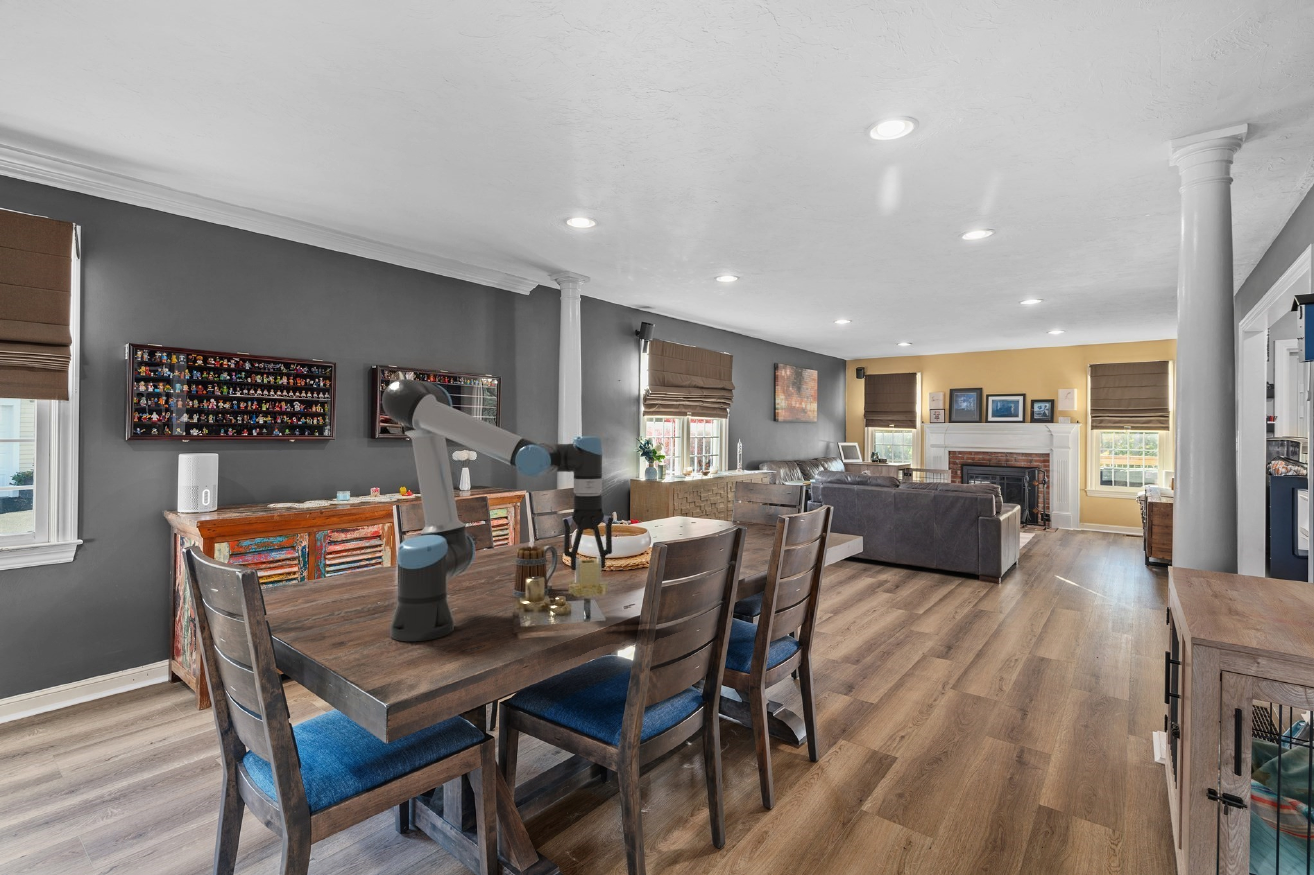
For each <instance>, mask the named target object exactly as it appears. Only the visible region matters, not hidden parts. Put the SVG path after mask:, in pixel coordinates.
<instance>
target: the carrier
mask: <svg viewBox="0 0 1314 875" xmlns="http://www.w3.org/2000/svg"><path fill="white" fill-rule="evenodd" d="M591 598H592V597H585V598H583V600H582V599H581V600H570V601H569V600H568V601H567V600H566V599H567V598H566V596H563V595H558V596H555V599H554V597H551V598H550V596H549V595H548V594H547V595H545V596H544V577H539V576H534V577H528V578H526V597H520V598H519V599H518V600H515V609H518V615H519V616H518V617H519V624H520V627H531V626H532V627H534V626H545V625H546V626H547V625H560V624H561V625H562V624H574V623H588V622H602V621H603V622H605V621H607V620H606V619H607V618H605V615H604V613H603V612H602V610H601V609H600V606H599V605H598V603H597V602H596V600H595V599H591Z"/></svg>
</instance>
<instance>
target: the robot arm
mask: <svg viewBox="0 0 1314 875" xmlns="http://www.w3.org/2000/svg"><path fill="white" fill-rule="evenodd" d="M381 400H382V402H381V403H382V404H381V405H382V408H383V411H384V412H385V414H386V416H388V417H389V418H390V419H391V420H392V421H394V422H396V423H398V424H402V425H403V430H404V434H405V435H406V436H407V437H409V438H410V439H411V443H412V449H413V455H414V462H415V467H416V473H417V474H416V475H417V480H418V486H419V493H420V498H421V505H422V511H423V518H424V523H425V524H424V527H423V528H422V530H421V531H420V535H418V536H415V537H414V536H413V537H410V538H407V539H405V540H403V541H402V542H401V543H400V544H399V546H398V549H397V555H396V562H397V564H396V565H397V604H396V606H395V607H396V608H395V610H394V613H393V617H392V618H391V623H390V626H389V636H390V638H392V639H394V640H396V641H401V642H423V641H424V642H425V641H431V640H436V639H439V638H443V637H444V636H447V635H449V634H451V633H452V632H453V631H454V630H455V619H454V616H453V613H452V610H451V608H450V605H449V601H448V594H447V593H448V580H450V579H451V578H453V577H457V576H459V575H460V574H462V573H463V572H464V571H466V570H467V569H468V568H469V567H470V566H471V565H472V563H473V561H474V559H475V556H476V546H475V542H474V540H473V538H472V537H471V536H470V535H469V534H468V533H467V529H466V524H465V523H464V522H462V521H461V520H460V519H459V517H458V509H457V504H456V503H457V502H456V497H455V492H454V491H455V490H454V483H453V479H452V472H451V466H450V460H449V453H448V448H447V441H446V440H447V439H448V440H451V441H453V442H455V443H458V444H460V445H461V446H465V447H467V448H469V449H472V450H474V451H475V452H479V453H481V454H483V455H486V456H489V457H491V458H492V459H496V460H498V461H500V462H502V463H505V464H507V465H509V466H511V467H514V468H515V469H517V470H518V471H519V472H520V473H521V474H523V475H524V476H526V477H539V476H542V475H545V474H549V473H564V472H565V473H573V493H574V494H575V495H574V496H573V512H572V514H571V515H570V516H568V517H563V518H562V523H563V526H564V529H563V531H564V533H563V537H564V538H563V554H564V556H565V557H568V558H570V568H571V571H574V581H575V582H576V583H579V560H580V557H579V556H577V555H578V551H579V548H580V544H581V540H582V536H583V534H584V531H586V530H592V532H593V534H594V538H595V543H596V545H597V550H598V554H599V555H596V560H597V561H598V562H599V582H601V581H602V569H606V556H608V555H612V553H613V540H612V539H613V537H612V525H613V521H614V517H612V516H610V515H609V516H608V515H605V513H604V512H603V496H602V495H601V494H602V493H603V473H602V472H603V449H602V448H603V447H602V439H601V438H600V437H599V436H574V437H573V441H572V443H544V442H543V443H542V442H541V443H536V442H534V441H532V440H529V439H526V438H525V437H522V436H520V435H517V434H515V433H512V432H510V431H508V430H506V429H504V428H501V427H498V426H496V425H494V424H491V423H489V422H486V421H485V420H482V419H480V418H477V417H475V416H473V415H471V414H468V413H466V412H463V411H461V410H458V409H456V408H454V407H453V401H452V398H451V395H450V394H449V392H448V391H447V390H446V389H445V388H444V387H442V386H440V385H439V384H437V383H434V382H431V381H420V380H414V379H409V378H408V379H407V378H402V379H398V380H395V381H393V382H392V383H390V384H389V385H388V386H387V387H386V388H385V390H384V392H383V394H382V399H381ZM602 521H603V523H604V524H605V526H604V527H605V546H604V545H603V541H602V537H601V533H600V529H599V525H600V523H601V522H602ZM572 522H574V523H575V524H576V525H577V527H576V528H577V529H576V533H575V535H574V540H573V544H572V548H571V547H570V546H571V545H570V544H571V542H570V538H571V537H570V536H571V527H570V526H571V525H572ZM570 548H571V551H570Z"/></svg>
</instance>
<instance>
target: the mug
mask: <svg viewBox="0 0 1314 875" xmlns="http://www.w3.org/2000/svg"><path fill="white" fill-rule="evenodd" d="M548 551H550V552H551V563H550V568H549V569H548V571H547V563H548V561H549V560H548V558H547V553H548ZM558 556H559V555H558V550H557V549H556V547H555V546H554V545H553V546H552V545H546V546H545V545H544V547H542V546H535V545H534V546H524V547H523V546H522V547H519V548H517V550H516V556H515V571H514V572H515V573H514V584H513V585H514V586H513V590H512V595H513V597H514V598H518V599H520V597H526V578H528V577H534V576H539V577H544V596H545V595H547V596H548V594H549V591H550V590H552V588H553V584H549V582H550V580H551V578H552V576H553V575H554V573H555V571H556V569H557V566H558V565H557V564H558Z"/></svg>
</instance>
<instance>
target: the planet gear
mask: <svg viewBox="0 0 1314 875" xmlns="http://www.w3.org/2000/svg"><path fill="white" fill-rule="evenodd" d="M608 588H609V583H608V582H607V581H606V582H604V581H602V580H601V582H599V562H598V561H597V558H594V559H592V558H591V559H590V558H589V559H579V583H576V582H575V580H574V581H571V582H570V584H568V585H567V592H568V594H572V595H573V596H574V597H580V596H581V597H587V598H592V597H594V596H599V595H602V596H603V595H605V594H606V592H608V591H609V589H608Z"/></svg>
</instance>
